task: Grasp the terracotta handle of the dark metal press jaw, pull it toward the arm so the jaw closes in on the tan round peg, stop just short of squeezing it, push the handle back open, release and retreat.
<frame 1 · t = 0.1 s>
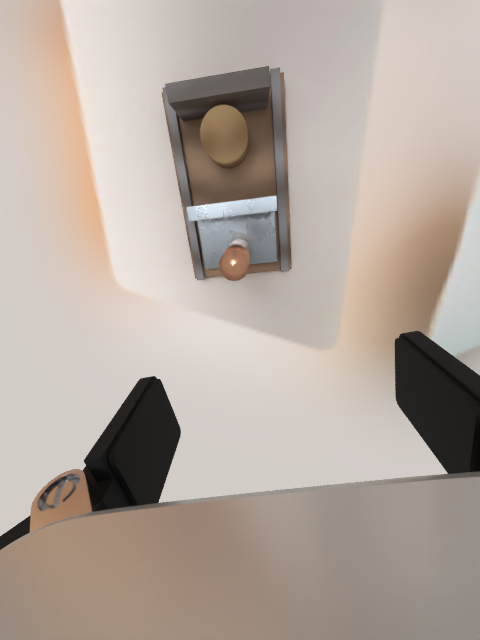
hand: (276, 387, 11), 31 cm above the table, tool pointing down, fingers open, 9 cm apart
press jaw: (235, 238, 31), point 7 cm above the table, slide at 0.0 cm
tan round peg: (228, 144, 32), point 1 cm above the table, touching press base
press base: (233, 182, 35), on the table
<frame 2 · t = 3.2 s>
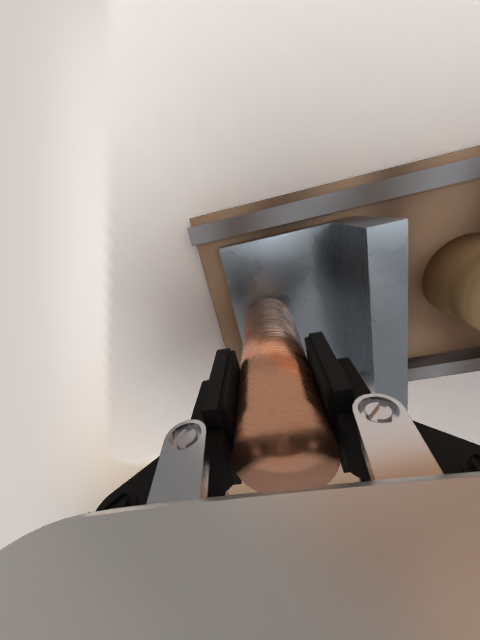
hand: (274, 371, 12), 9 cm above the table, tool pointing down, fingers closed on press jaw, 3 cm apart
press jaw: (314, 349, 12), point 7 cm above the table, slide at 0.0 cm, touching gripper
tan round peg: (465, 274, 17), point 1 cm above the table, touching press base
press base: (386, 281, 18), on the table
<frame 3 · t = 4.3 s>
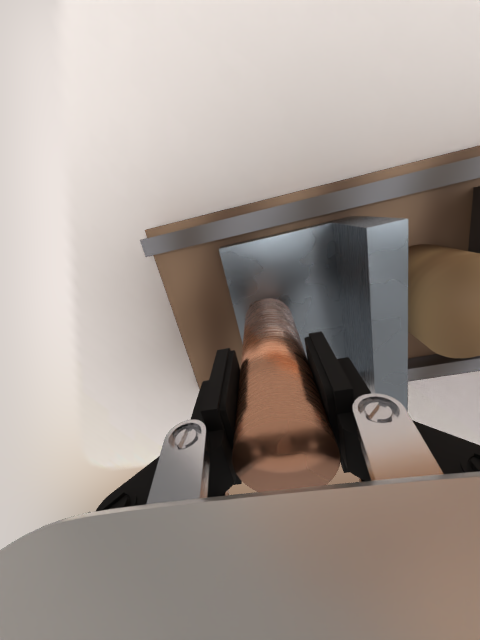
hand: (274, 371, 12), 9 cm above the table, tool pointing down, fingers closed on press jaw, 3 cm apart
press jaw: (315, 349, 12), point 7 cm above the table, slide at 3.0 cm, touching gripper
tan round peg: (415, 284, 17), point 1 cm above the table, touching press base
press base: (343, 290, 19), on the table
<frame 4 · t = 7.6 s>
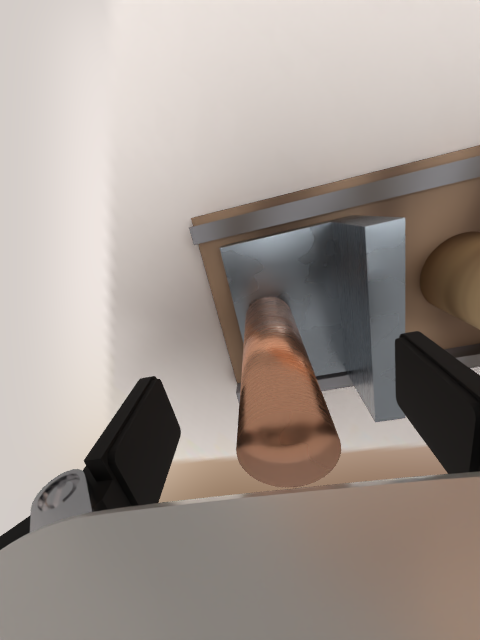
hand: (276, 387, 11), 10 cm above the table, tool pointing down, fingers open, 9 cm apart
press jaw: (314, 346, 13), point 7 cm above the table, slide at 0.0 cm
tan round peg: (461, 272, 17), point 1 cm above the table, touching press base
press base: (385, 280, 19), on the table
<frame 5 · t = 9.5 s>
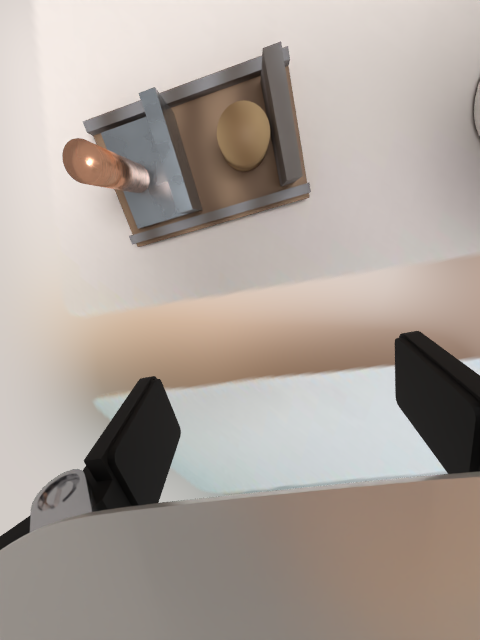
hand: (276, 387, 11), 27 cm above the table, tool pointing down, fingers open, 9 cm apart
press jaw: (136, 166, 25), point 7 cm above the table, slide at 0.0 cm
tan round peg: (244, 146, 29), point 1 cm above the table, touching press base
press base: (212, 159, 31), on the table
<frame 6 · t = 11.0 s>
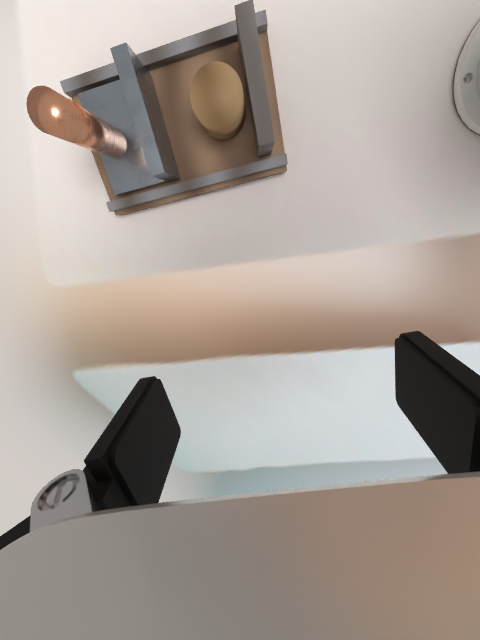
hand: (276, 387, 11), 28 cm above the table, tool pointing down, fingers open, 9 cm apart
press jaw: (108, 125, 25), point 7 cm above the table, slide at 0.0 cm
tan round peg: (222, 114, 29), point 1 cm above the table, touching press base
press base: (191, 128, 31), on the table
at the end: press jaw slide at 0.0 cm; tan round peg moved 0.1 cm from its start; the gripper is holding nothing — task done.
